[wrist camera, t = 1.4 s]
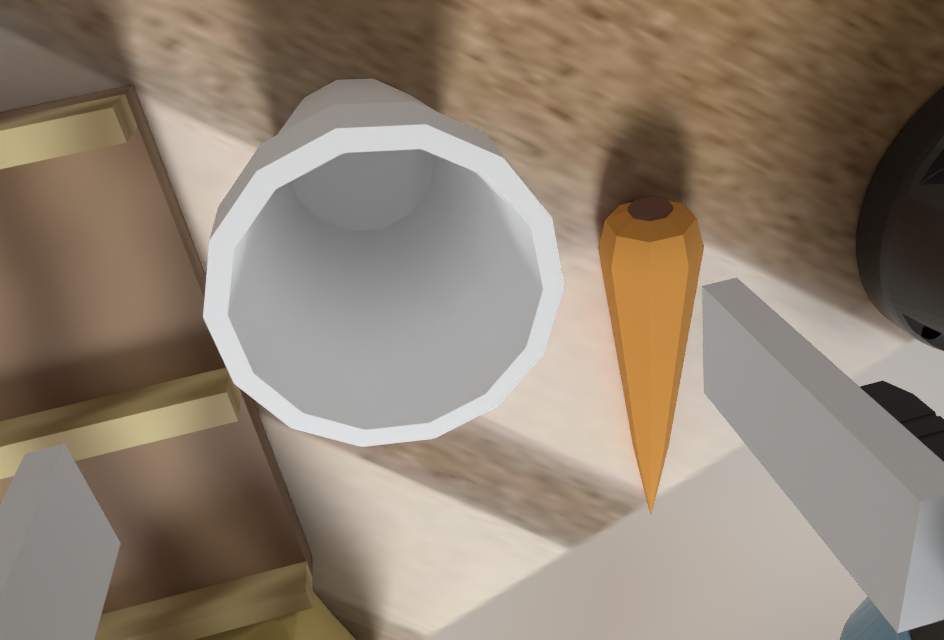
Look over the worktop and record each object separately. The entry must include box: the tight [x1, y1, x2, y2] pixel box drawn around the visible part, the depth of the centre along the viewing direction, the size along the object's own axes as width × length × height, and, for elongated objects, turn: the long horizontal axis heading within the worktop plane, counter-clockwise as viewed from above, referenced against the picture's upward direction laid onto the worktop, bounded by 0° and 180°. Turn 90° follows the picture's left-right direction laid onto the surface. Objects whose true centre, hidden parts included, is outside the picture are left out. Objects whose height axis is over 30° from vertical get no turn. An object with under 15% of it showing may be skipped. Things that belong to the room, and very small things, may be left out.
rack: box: [0, 85, 313, 640], centre depth 33 cm, size 13×25×4 cm, turn 10°
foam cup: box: [203, 79, 565, 447], centre depth 26 cm, size 10×9×13 cm
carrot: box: [598, 196, 704, 514], centre depth 39 cm, size 20×4×4 cm, turn 9°
